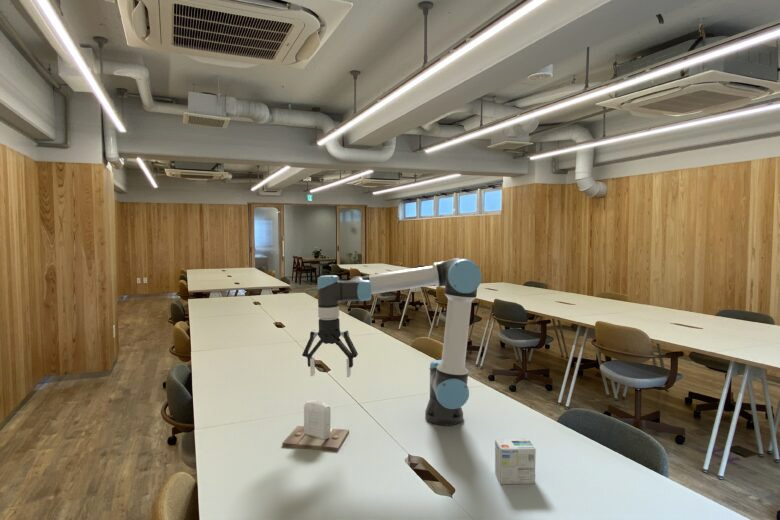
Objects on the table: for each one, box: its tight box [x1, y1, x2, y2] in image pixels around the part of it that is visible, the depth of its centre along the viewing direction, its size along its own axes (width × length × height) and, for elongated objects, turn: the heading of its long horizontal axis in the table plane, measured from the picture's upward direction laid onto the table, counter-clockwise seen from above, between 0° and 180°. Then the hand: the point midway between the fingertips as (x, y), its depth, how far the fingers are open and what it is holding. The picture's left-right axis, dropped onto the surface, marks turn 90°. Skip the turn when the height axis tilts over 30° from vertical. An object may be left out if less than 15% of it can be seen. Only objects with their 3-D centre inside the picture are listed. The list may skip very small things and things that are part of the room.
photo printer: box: [303, 399, 331, 439], centre depth 156 cm, size 10×4×12 cm, turn 60°
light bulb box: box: [494, 438, 537, 485], centre depth 131 cm, size 11×7×11 cm, turn 92°
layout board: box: [281, 425, 350, 452], centre depth 156 cm, size 20×14×2 cm
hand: (330, 375), depth 160 cm, fingers open, 13 cm apart
